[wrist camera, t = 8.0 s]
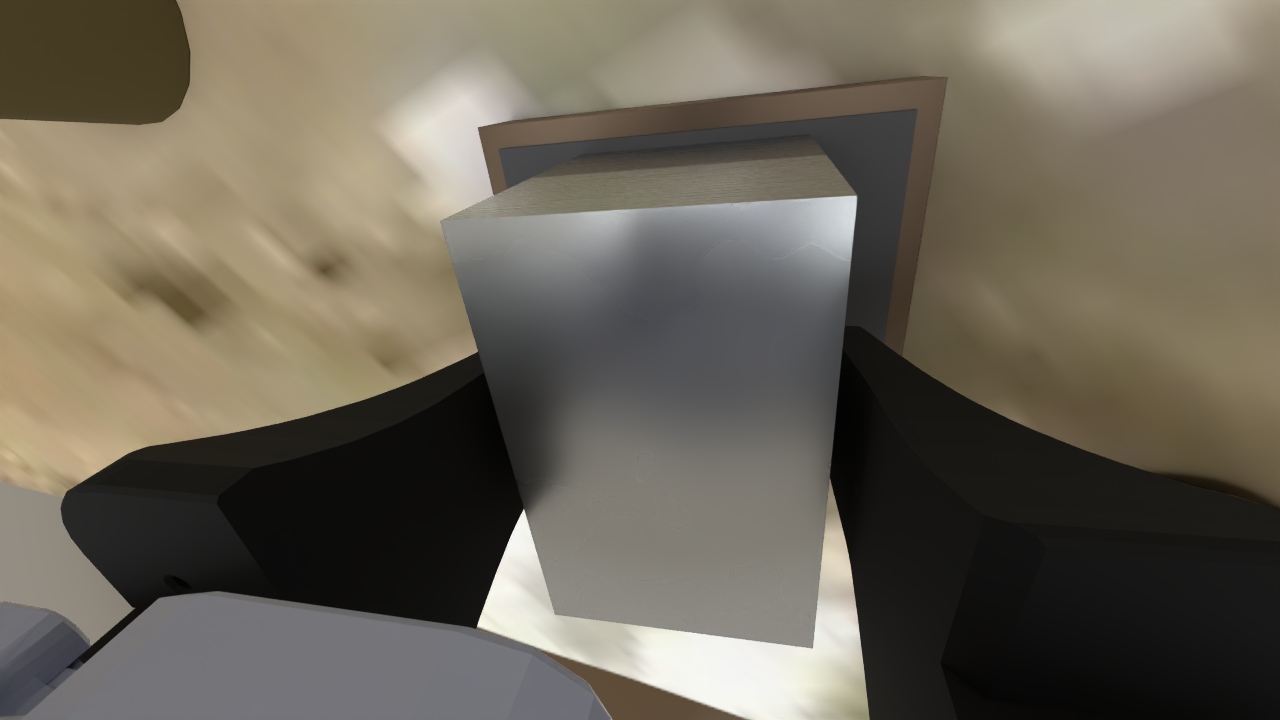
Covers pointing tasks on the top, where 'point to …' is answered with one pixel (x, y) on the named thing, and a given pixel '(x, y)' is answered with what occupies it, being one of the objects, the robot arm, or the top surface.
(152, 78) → the cork
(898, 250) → the stand
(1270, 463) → the top surface
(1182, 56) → the top surface
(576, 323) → the block
